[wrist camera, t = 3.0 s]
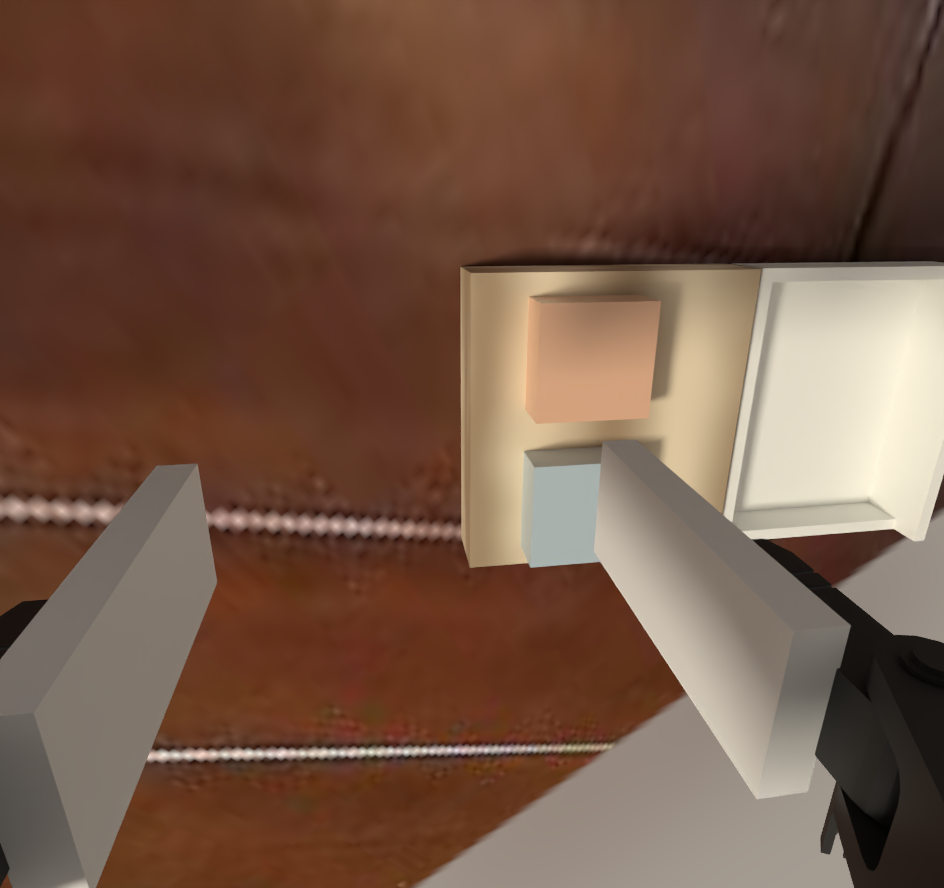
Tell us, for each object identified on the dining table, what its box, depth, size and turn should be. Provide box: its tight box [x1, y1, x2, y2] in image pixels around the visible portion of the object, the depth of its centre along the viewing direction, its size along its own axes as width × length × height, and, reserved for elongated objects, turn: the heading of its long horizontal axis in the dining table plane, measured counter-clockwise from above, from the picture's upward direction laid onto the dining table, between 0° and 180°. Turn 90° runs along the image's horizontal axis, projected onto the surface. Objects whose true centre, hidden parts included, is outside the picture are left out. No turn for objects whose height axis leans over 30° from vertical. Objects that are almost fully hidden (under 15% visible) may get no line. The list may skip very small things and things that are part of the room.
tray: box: [722, 261, 944, 541], centre depth 32 cm, size 11×14×4 cm
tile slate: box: [521, 447, 602, 568], centre depth 29 cm, size 5×5×2 cm
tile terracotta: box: [525, 295, 661, 424], centre depth 27 cm, size 5×5×2 cm
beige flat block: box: [461, 264, 762, 568], centre depth 31 cm, size 13×14×3 cm
